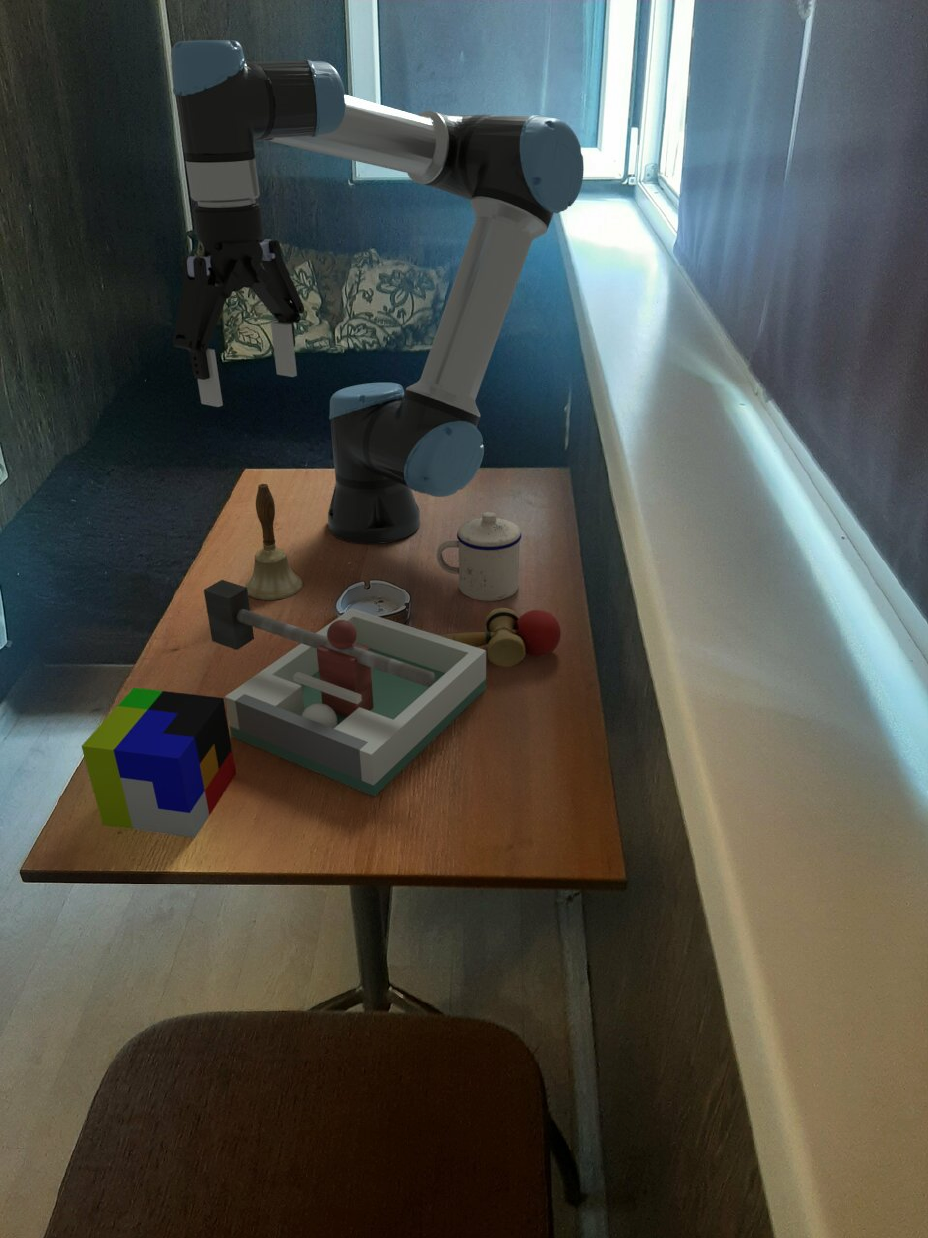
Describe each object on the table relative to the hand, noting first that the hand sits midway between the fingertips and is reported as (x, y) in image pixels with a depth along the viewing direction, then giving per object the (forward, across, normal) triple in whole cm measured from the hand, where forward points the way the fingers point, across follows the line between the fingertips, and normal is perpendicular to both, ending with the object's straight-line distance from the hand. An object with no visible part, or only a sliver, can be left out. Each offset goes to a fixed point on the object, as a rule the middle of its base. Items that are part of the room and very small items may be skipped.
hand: (251, 389), depth 116 cm
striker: (+29, +17, +21) cm, 39 cm away
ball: (+28, +22, +24) cm, 43 cm away
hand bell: (+32, -5, -5) cm, 33 cm away
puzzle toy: (+31, +36, +16) cm, 51 cm away
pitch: (+31, +14, +24) cm, 42 cm away
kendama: (+32, -4, +31) cm, 45 cm away
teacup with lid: (+32, -20, +21) cm, 43 cm away
